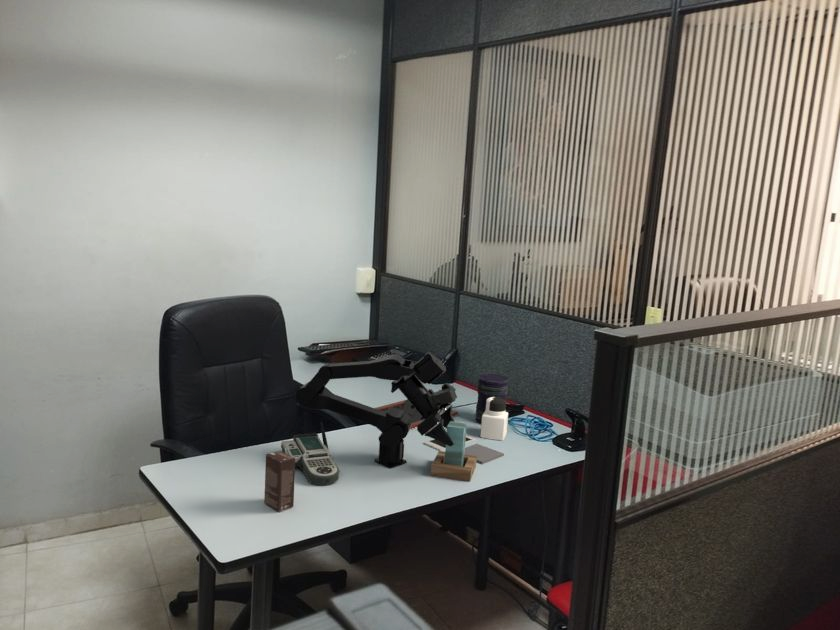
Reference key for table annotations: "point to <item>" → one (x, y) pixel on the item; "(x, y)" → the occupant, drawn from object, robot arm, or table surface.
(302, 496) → the table surface
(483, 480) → the table surface
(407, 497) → the table surface
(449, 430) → the peg
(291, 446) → the communication device
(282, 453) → the box
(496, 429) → the medicine bottle
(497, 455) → the mat
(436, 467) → the pocket block
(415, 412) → the picture frame
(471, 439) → the smartphone
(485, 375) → the storage jar
